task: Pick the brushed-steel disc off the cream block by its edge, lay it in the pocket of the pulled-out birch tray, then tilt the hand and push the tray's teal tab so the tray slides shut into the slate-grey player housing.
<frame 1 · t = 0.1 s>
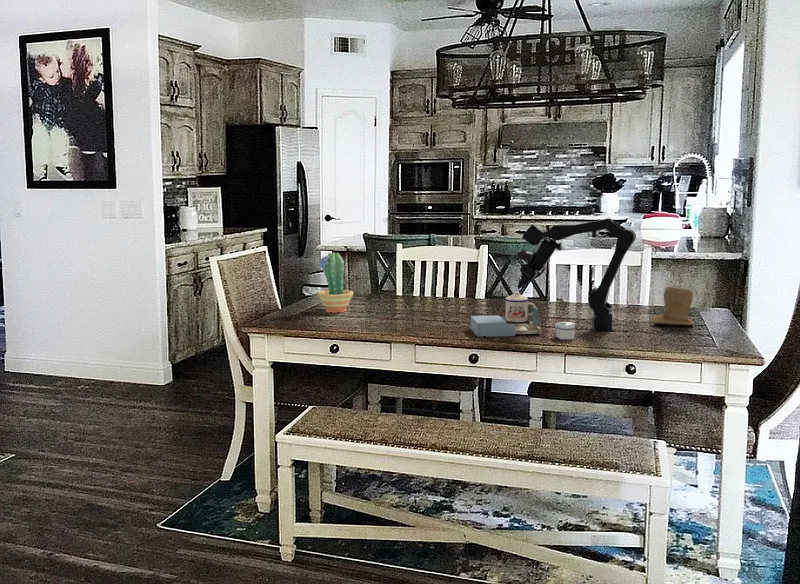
hand: (521, 286, 303), 15 cm above the table, tool tilted 35°, fingers open, 9 cm apart
pedestal: (565, 337, 280), on the table
disc: (565, 328, 279), point 3 cm above the table, touching pedestal
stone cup: (672, 325, 304), on the table
potted cactus: (335, 311, 335), on the table
teacup with lid: (520, 321, 313), on the table
tray: (518, 319, 290), point 5 cm above the table, slide at 9.0 cm
housing: (494, 332, 289), on the table
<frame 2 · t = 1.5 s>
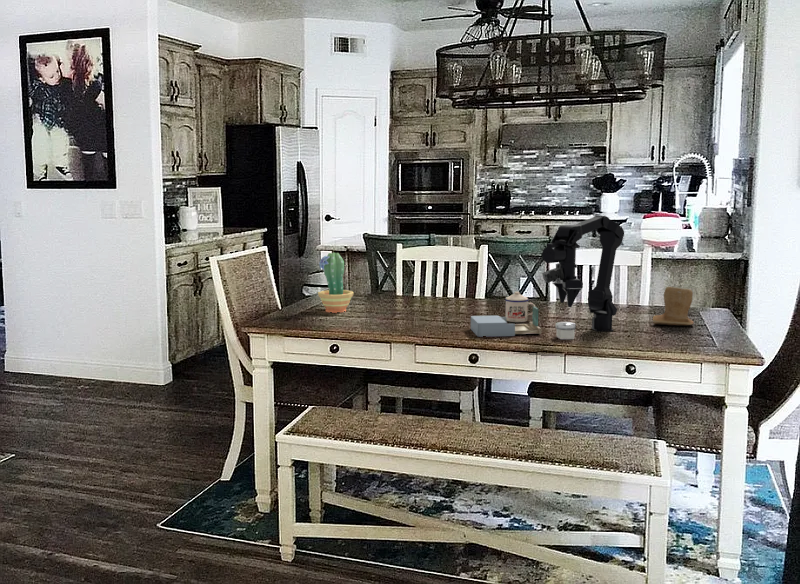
hand: (565, 304, 278), 12 cm above the table, tool pointing down, fingers open, 9 cm apart
nothing on the table moved.
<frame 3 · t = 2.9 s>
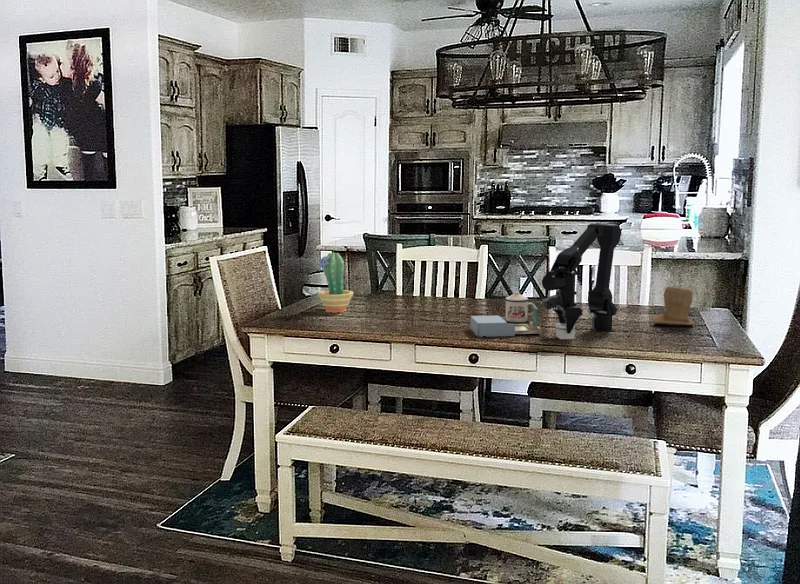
hand: (565, 331, 279), 2 cm above the table, tool pointing down, fingers closed on disc, 7 cm apart
disc: (565, 328, 279), point 4 cm above the table, touching gripper, pedestal
everything else where it was.
when the fingers open (2 cm above the table, at t = 6.8 s): disc drops 2 cm, resting on tray.
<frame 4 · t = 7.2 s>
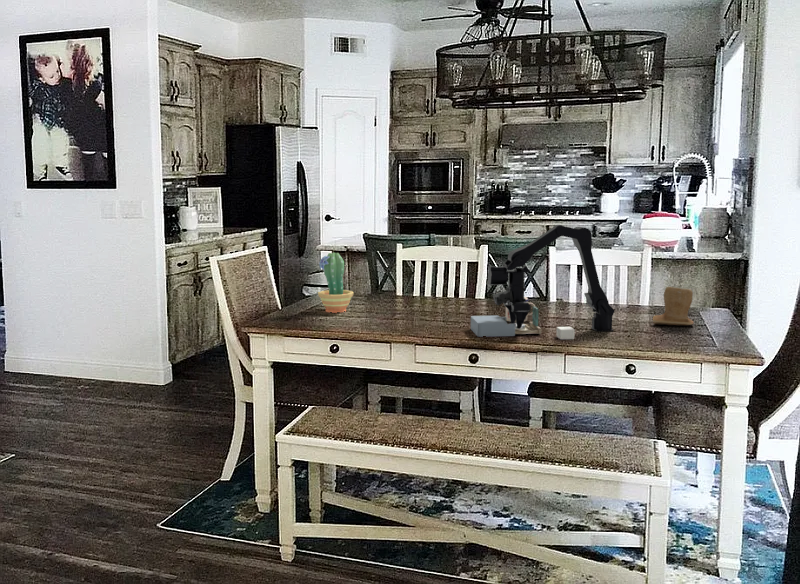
hand: (515, 326, 290), 2 cm above the table, tool pointing down, fingers open, 9 cm apart
disc: (515, 329, 290), point 1 cm above the table, touching tray
tray: (518, 319, 290), point 5 cm above the table, slide at 9.0 cm, touching disc
everything else where it was.
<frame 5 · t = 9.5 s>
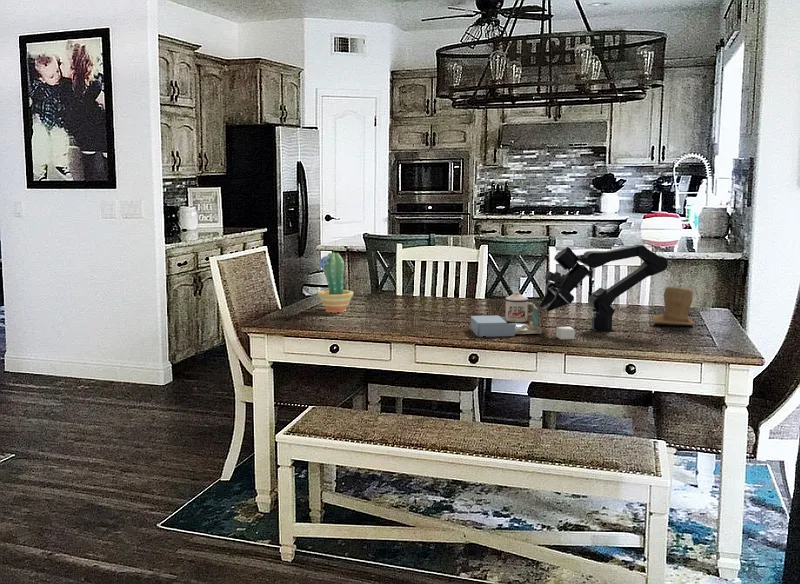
hand: (543, 308, 290), 9 cm above the table, tool tilted 45°, fingers open, 9 cm apart
nothing on the table moved.
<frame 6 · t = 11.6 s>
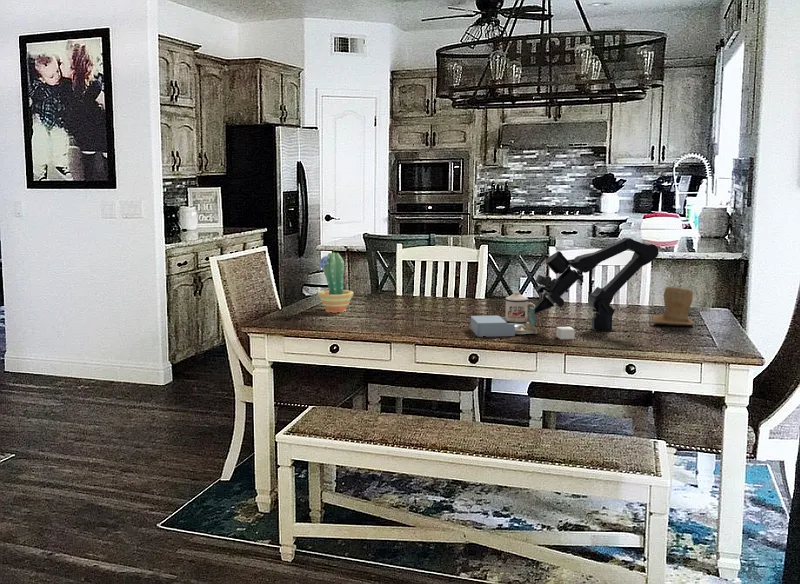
hand: (533, 312, 290), 7 cm above the table, tool tilted 45°, fingers closed, pressing on tray
disc: (511, 329, 290), point 1 cm above the table, touching tray
tray: (514, 319, 289), point 5 cm above the table, slide at 7.6 cm, touching disc, gripper
everything else where it was.
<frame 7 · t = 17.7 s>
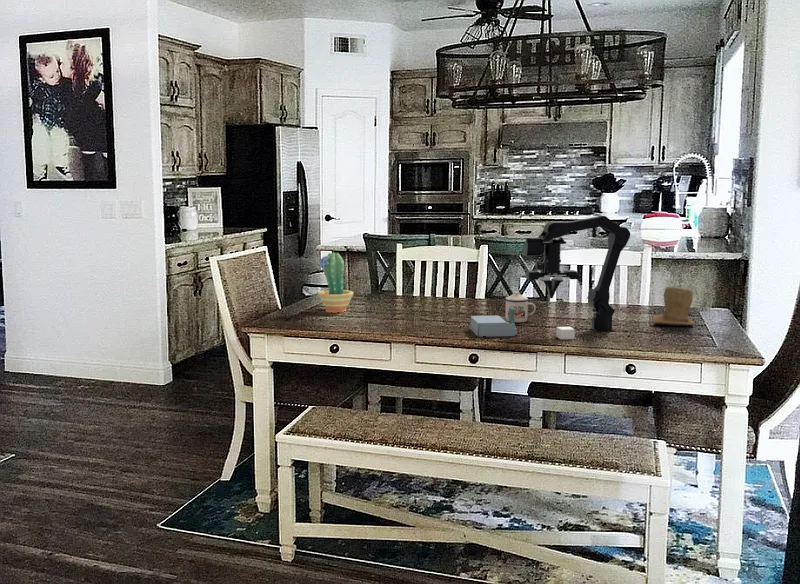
hand: (551, 298, 290), 12 cm above the table, tool pointing down, fingers closed
disc: (491, 329, 289), point 1 cm above the table, touching tray
tray: (494, 319, 289), point 5 cm above the table, slide at 0.0 cm, touching disc, housing
everything else where it was.
at the end: tray slide at 0.0 cm; disc inside the target area on the housing (0.0 cm from its centre), point 1.0 cm above the housing's base; the gripper is holding nothing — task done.
